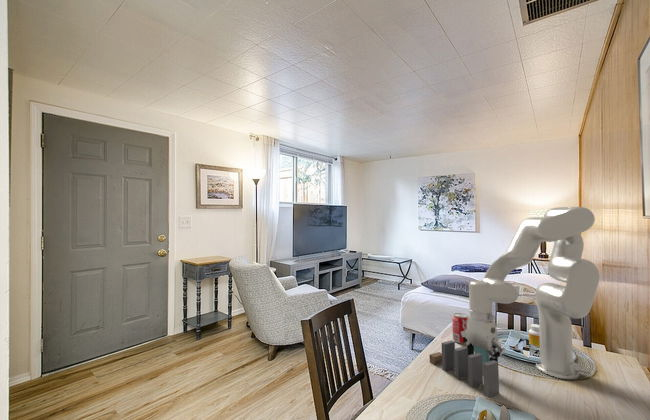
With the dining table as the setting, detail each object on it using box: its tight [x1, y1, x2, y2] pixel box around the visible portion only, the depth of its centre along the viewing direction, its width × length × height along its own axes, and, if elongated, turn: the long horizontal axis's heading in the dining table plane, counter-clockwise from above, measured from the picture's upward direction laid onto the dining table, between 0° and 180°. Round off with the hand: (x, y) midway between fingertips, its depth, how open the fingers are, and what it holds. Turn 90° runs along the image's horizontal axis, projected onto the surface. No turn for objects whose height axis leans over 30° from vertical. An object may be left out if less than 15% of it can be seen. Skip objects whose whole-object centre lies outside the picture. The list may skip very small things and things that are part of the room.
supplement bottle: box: [528, 323, 540, 348], centre depth 128 cm, size 5×5×10 cm
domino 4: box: [483, 360, 500, 398], centre depth 96 cm, size 2×5×10 cm, turn 114°
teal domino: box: [473, 345, 491, 364], centre depth 109 cm, size 2×5×10 cm, turn 24°
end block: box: [429, 351, 442, 366], centre depth 117 cm, size 2×5×3 cm, turn 114°
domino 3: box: [467, 353, 484, 389], centre depth 101 cm, size 2×5×10 cm, turn 114°
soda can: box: [451, 312, 469, 345], centre depth 136 cm, size 7×7×12 cm
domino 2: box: [454, 346, 468, 380], centre depth 106 cm, size 2×5×10 cm, turn 114°
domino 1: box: [441, 339, 456, 373], centre depth 112 cm, size 2×5×10 cm, turn 114°
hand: (481, 362), depth 109 cm, fingers open, 9 cm apart
